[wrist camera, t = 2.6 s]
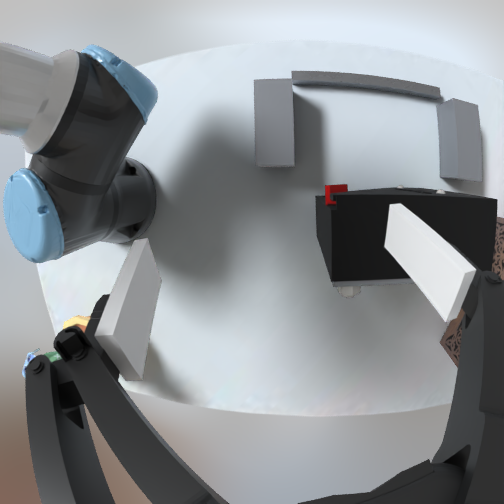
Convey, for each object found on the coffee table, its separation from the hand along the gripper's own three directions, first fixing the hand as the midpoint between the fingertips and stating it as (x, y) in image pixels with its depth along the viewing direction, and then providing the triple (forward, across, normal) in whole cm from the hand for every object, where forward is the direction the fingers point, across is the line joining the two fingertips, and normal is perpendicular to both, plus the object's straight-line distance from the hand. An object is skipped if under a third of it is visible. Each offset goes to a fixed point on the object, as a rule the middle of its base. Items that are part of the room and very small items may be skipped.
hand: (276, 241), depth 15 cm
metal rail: (+29, +21, +8) cm, 37 cm away
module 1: (+30, +6, +1) cm, 31 cm away
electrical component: (+23, +18, -12) cm, 32 cm away
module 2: (+23, +34, 0) cm, 41 cm away
